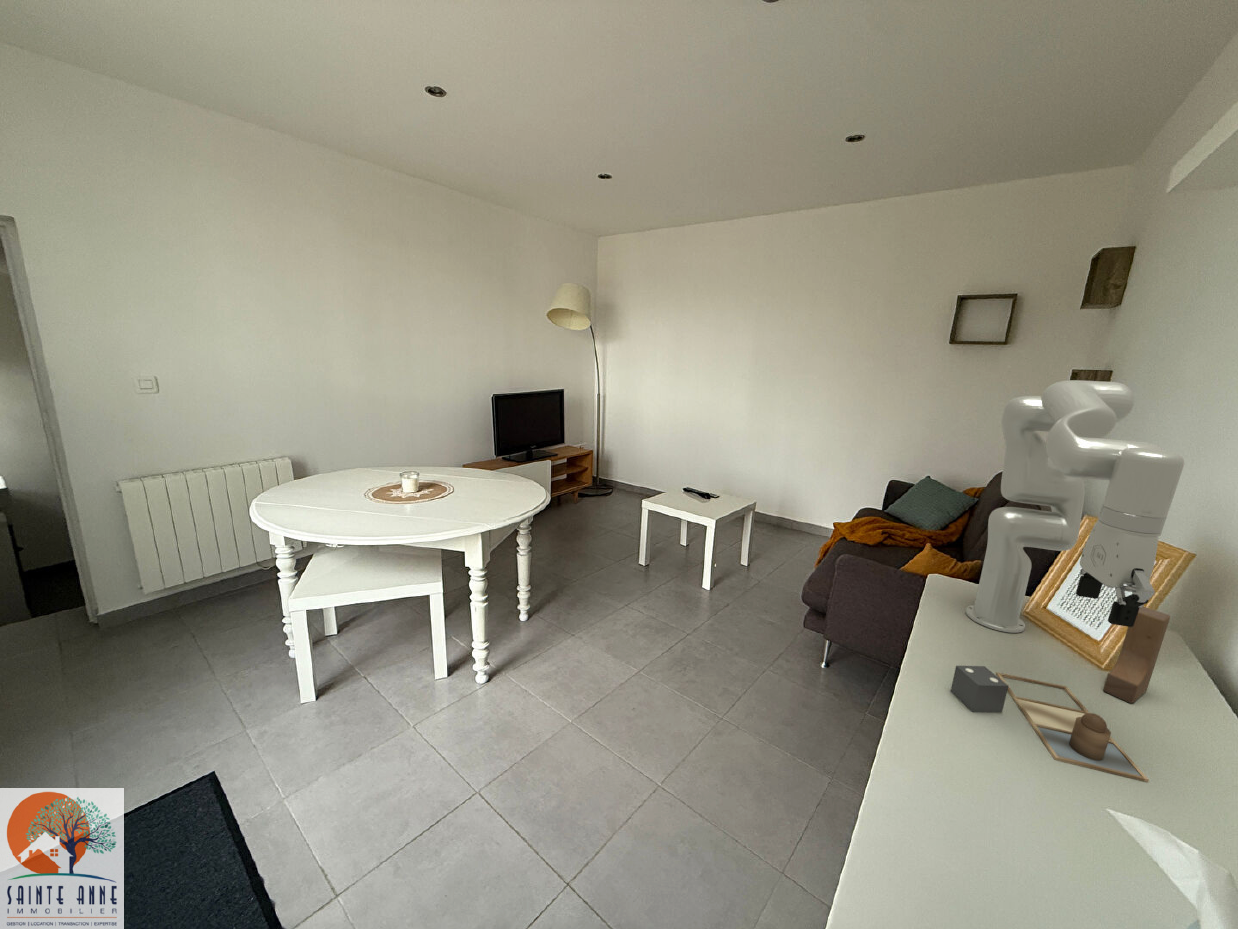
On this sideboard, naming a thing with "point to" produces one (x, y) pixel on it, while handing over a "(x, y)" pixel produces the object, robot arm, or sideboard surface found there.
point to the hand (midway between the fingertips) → (1102, 610)
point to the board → (1069, 733)
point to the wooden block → (1137, 656)
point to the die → (979, 689)
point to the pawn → (1090, 736)
